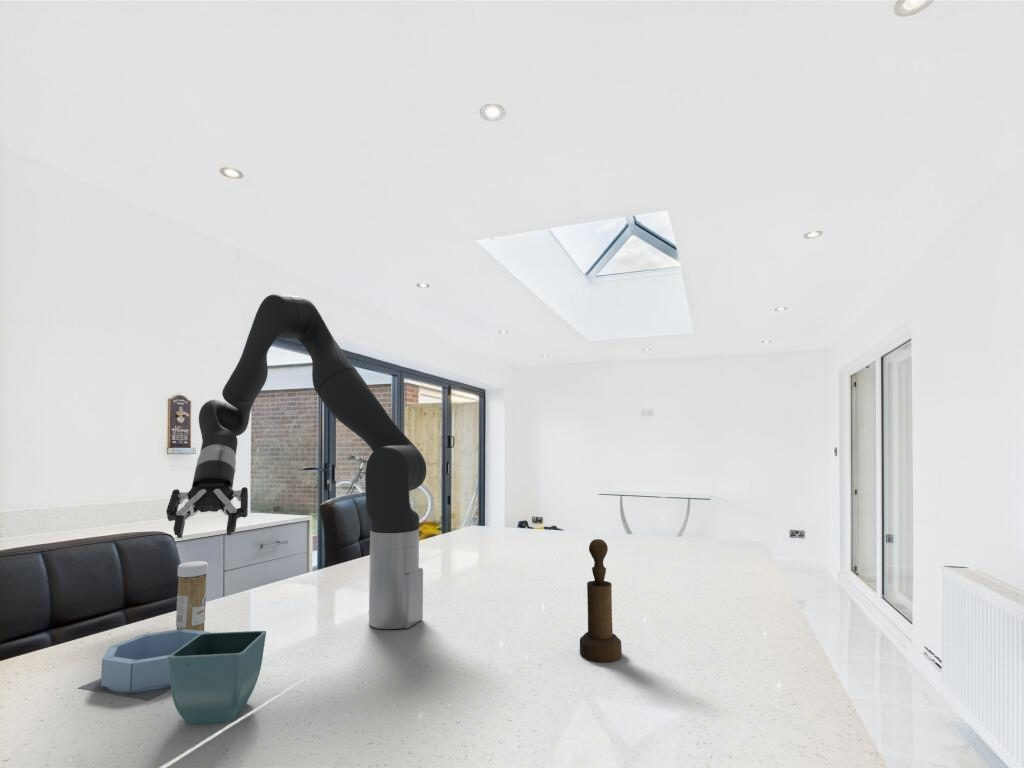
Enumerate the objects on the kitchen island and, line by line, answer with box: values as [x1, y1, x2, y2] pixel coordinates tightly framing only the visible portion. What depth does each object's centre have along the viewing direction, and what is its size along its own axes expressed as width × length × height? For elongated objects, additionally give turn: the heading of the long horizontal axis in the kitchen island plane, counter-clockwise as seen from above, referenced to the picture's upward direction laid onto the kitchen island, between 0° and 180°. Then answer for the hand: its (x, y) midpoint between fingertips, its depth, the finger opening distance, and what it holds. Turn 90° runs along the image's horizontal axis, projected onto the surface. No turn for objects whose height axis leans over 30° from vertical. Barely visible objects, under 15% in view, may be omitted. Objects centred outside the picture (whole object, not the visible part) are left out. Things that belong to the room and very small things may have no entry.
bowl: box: [100, 629, 211, 693], centre depth 84 cm, size 13×13×4 cm
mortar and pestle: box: [579, 538, 623, 663], centre depth 92 cm, size 7×6×18 cm
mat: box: [77, 678, 171, 701], centre depth 84 cm, size 13×14×1 cm
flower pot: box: [168, 630, 267, 726], centre depth 72 cm, size 9×9×9 cm
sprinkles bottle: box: [175, 560, 209, 631], centre depth 98 cm, size 5×5×13 cm
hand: (204, 534), depth 110 cm, fingers open, 8 cm apart
